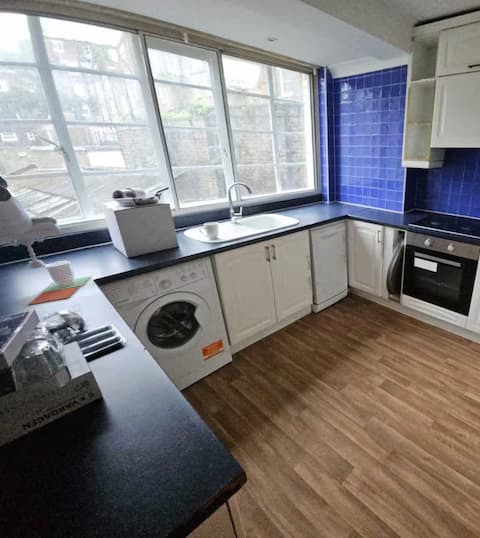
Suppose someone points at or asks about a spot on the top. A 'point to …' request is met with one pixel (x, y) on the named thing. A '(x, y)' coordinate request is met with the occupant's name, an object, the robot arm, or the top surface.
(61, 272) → the white cup
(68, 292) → the terracotta mat
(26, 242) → the chalice
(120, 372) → the top surface
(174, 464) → the top surface
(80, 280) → the sage mat
